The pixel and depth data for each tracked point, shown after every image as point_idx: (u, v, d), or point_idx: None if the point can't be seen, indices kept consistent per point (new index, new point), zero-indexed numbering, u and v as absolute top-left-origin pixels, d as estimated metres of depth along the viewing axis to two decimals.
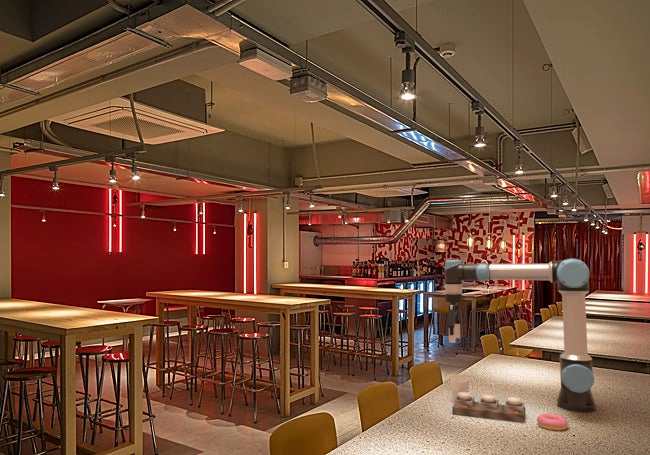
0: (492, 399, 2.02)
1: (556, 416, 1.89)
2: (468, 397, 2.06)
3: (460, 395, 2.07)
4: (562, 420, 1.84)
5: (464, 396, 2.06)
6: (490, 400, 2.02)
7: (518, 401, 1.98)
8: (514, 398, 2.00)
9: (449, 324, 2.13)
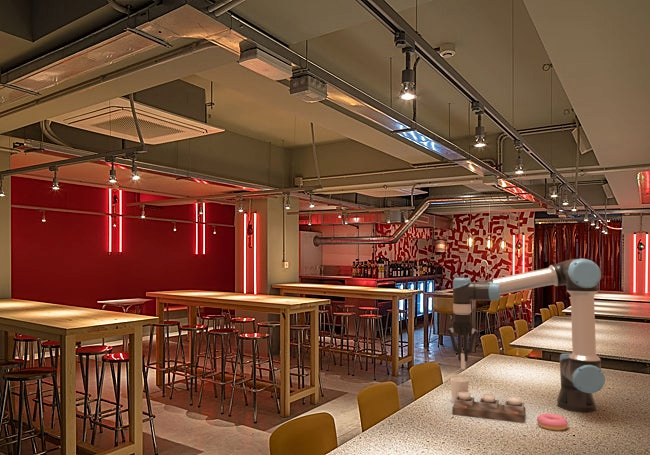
0: (492, 399, 2.02)
1: (556, 416, 1.89)
2: (468, 397, 2.06)
3: (460, 395, 2.07)
4: (562, 420, 1.84)
5: (464, 396, 2.06)
6: (490, 400, 2.02)
7: (518, 401, 1.98)
8: (514, 398, 2.00)
9: None
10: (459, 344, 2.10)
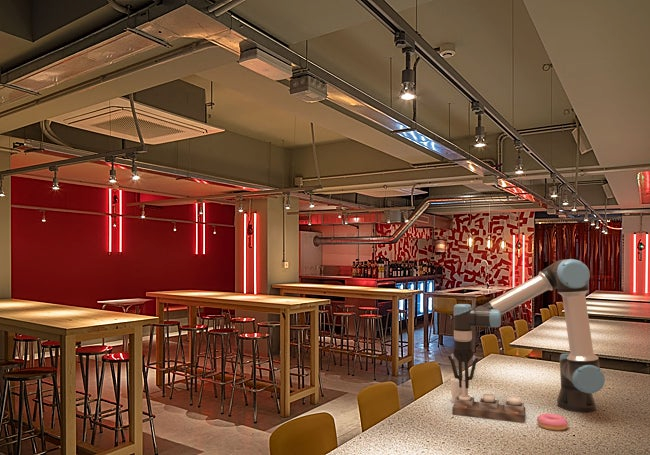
0: (492, 399, 2.02)
1: (556, 416, 1.89)
2: (468, 400, 2.06)
3: (460, 398, 2.07)
4: (562, 420, 1.84)
5: (464, 399, 2.06)
6: (490, 400, 2.02)
7: (518, 401, 1.98)
8: (514, 398, 2.00)
9: None
10: (460, 371, 2.09)
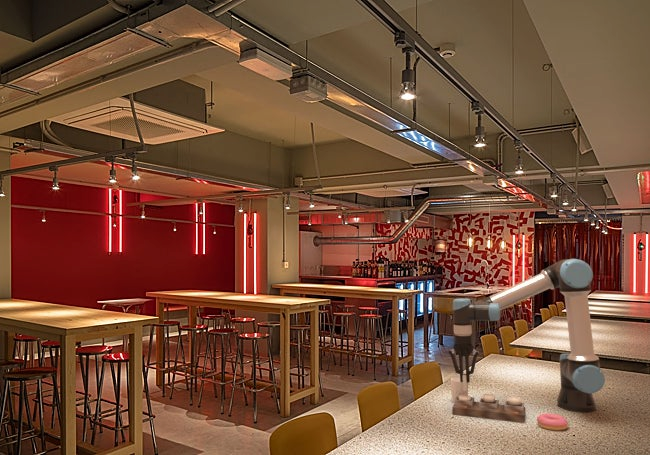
0: (492, 399, 2.02)
1: (556, 416, 1.89)
2: None
3: (460, 399, 2.07)
4: (562, 420, 1.84)
5: (464, 400, 2.06)
6: (490, 400, 2.02)
7: (518, 401, 1.98)
8: (514, 398, 2.00)
9: None
10: (460, 365, 2.09)
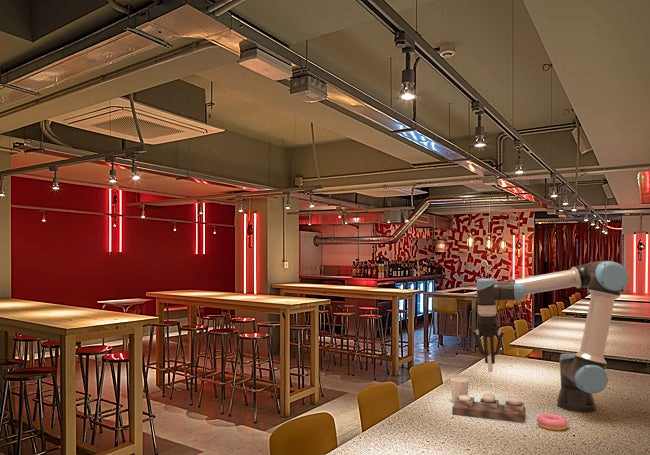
0: (492, 399, 2.02)
1: (556, 416, 1.89)
2: None
3: (460, 399, 2.07)
4: (562, 420, 1.84)
5: (464, 400, 2.06)
6: (490, 400, 2.02)
7: (518, 401, 1.98)
8: (514, 398, 2.00)
9: None
10: (485, 346, 2.05)
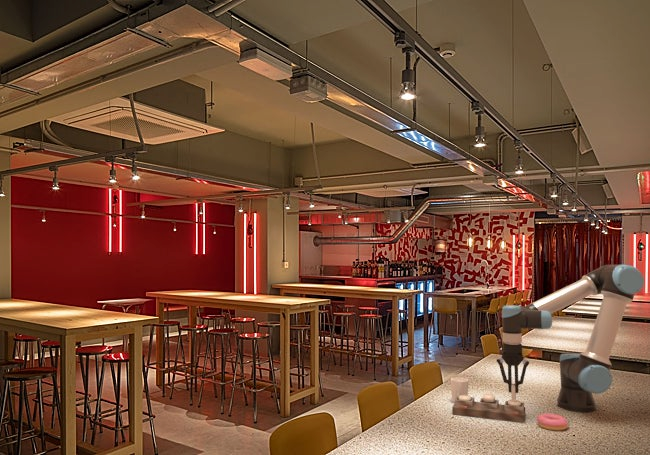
0: (492, 399, 2.02)
1: (556, 416, 1.89)
2: None
3: (460, 399, 2.07)
4: (562, 420, 1.84)
5: (464, 400, 2.06)
6: (490, 400, 2.02)
7: (518, 404, 1.98)
8: None
9: None
10: (509, 375, 2.01)
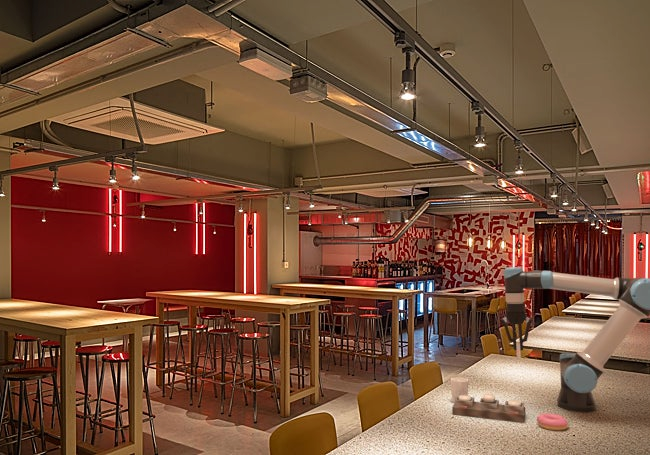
0: (492, 399, 2.02)
1: (556, 416, 1.89)
2: None
3: (460, 399, 2.07)
4: (562, 420, 1.84)
5: (464, 400, 2.06)
6: (490, 400, 2.02)
7: (518, 405, 1.98)
8: (514, 402, 2.00)
9: None
10: (514, 333, 2.09)
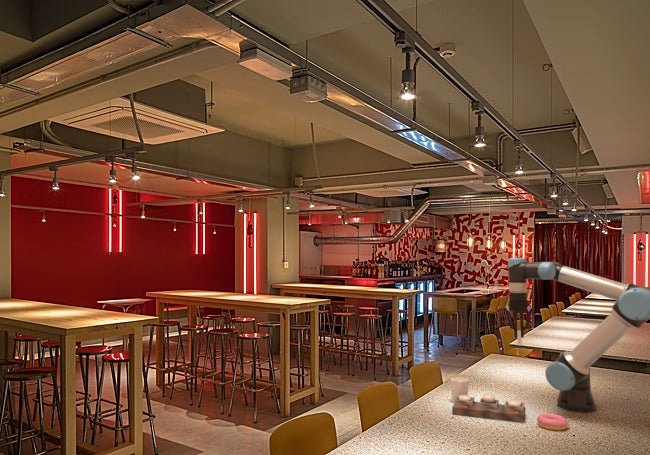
0: (492, 399, 2.02)
1: (556, 416, 1.89)
2: None
3: (460, 399, 2.07)
4: (562, 420, 1.84)
5: (464, 400, 2.06)
6: (490, 400, 2.02)
7: (518, 405, 1.98)
8: (514, 402, 2.00)
9: None
10: (515, 321, 2.17)
